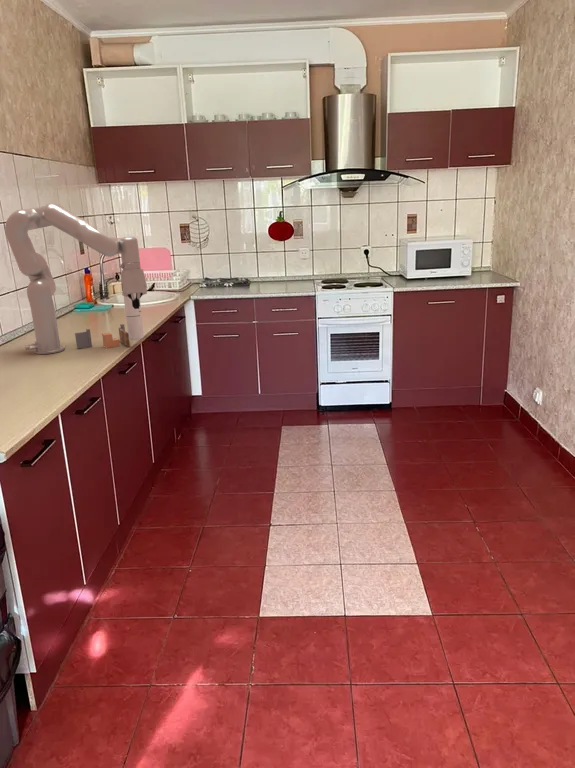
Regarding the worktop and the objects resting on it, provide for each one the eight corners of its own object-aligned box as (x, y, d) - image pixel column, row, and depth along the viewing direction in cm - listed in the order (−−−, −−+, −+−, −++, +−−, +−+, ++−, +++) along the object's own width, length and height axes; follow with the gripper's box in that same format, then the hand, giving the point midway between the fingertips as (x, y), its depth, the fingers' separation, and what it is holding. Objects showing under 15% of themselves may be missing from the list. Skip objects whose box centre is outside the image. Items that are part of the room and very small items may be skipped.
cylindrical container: (146, 336, 282) (141, 283, 275) (139, 339, 276) (133, 286, 268) (133, 335, 284) (127, 283, 277) (125, 339, 278) (119, 285, 270)
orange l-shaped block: (106, 348, 261) (105, 335, 259) (103, 346, 265) (102, 333, 263) (120, 346, 264) (118, 333, 263) (116, 344, 268) (115, 331, 266)
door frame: (78, 349, 261) (75, 331, 259) (76, 348, 262) (74, 330, 260) (126, 341, 273) (124, 324, 270) (124, 340, 274) (122, 323, 272)
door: (119, 341, 272) (118, 327, 271) (122, 340, 273) (120, 327, 271) (127, 346, 261) (126, 332, 259) (129, 346, 261) (128, 332, 259)
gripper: (116, 268, 248) (121, 311, 254) (150, 265, 255) (155, 307, 261) (112, 267, 255) (117, 309, 260) (145, 264, 262) (150, 305, 267)
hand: (136, 308), depth 260 cm, fingers closed
